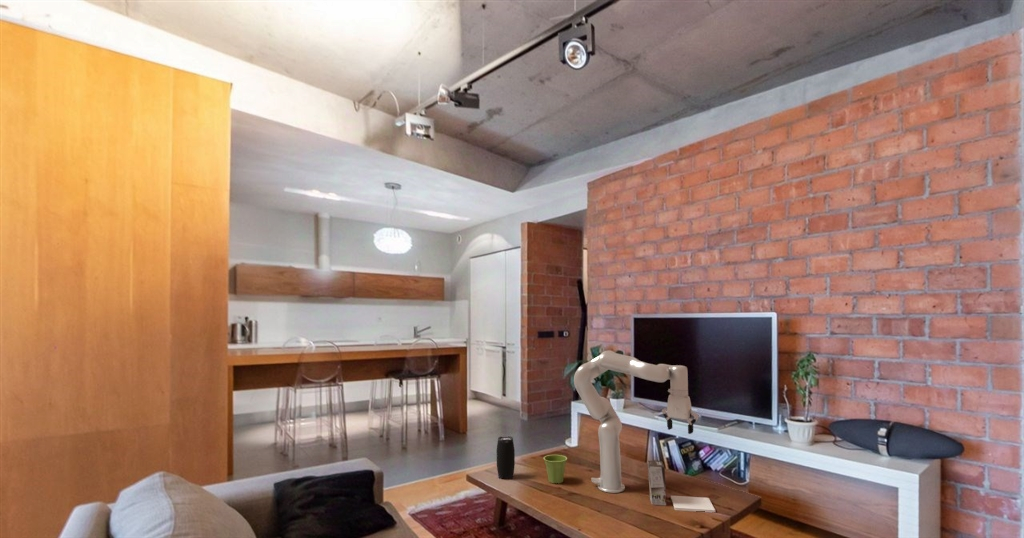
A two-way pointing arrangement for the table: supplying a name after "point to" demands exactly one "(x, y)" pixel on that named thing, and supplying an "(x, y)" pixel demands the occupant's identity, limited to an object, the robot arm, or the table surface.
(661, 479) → the coffee box
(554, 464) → the plant pot
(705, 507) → the rest mat
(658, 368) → the robot arm
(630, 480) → the table surface
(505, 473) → the portable speaker
